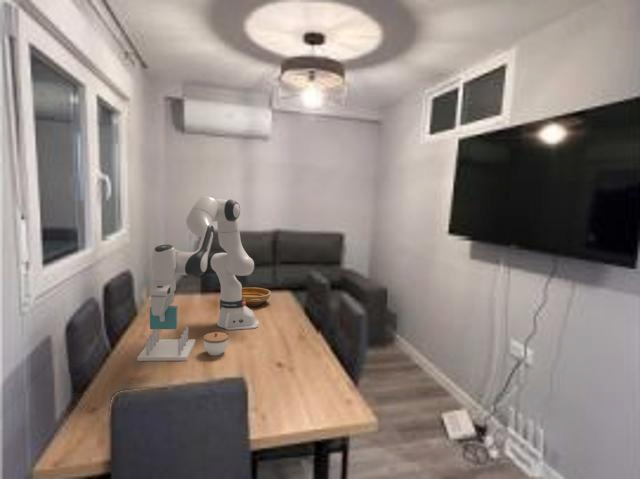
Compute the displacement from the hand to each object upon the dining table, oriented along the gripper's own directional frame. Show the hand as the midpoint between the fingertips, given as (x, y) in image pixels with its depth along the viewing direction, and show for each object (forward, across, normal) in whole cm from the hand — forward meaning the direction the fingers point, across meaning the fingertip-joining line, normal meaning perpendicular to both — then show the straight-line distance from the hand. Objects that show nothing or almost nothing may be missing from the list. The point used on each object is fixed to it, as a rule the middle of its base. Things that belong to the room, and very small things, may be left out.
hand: (163, 319), depth 155 cm
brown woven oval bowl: (+21, -92, +32) cm, 99 cm away
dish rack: (+20, -16, -2) cm, 26 cm away
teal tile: (+4, 0, 0) cm, 4 cm away
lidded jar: (+20, -14, +19) cm, 31 cm away
